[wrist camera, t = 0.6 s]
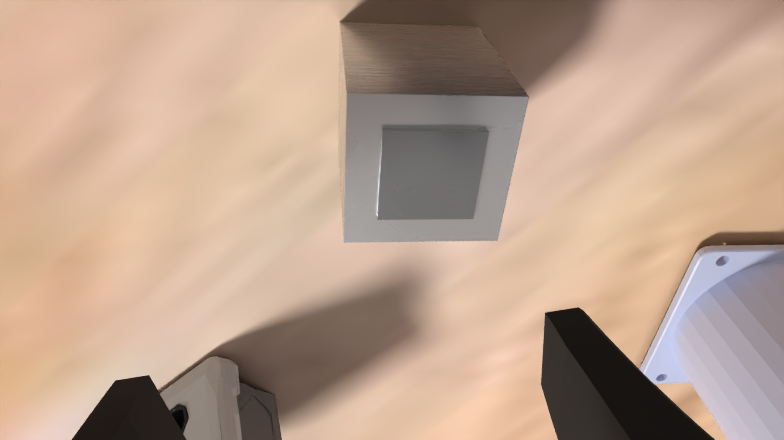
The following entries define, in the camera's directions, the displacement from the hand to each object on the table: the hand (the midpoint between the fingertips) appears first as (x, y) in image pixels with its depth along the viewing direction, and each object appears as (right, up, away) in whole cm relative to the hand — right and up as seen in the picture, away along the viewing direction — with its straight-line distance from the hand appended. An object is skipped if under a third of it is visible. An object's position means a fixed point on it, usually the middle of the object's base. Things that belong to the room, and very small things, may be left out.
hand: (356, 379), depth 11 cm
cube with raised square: (+1, +7, +7) cm, 10 cm away
